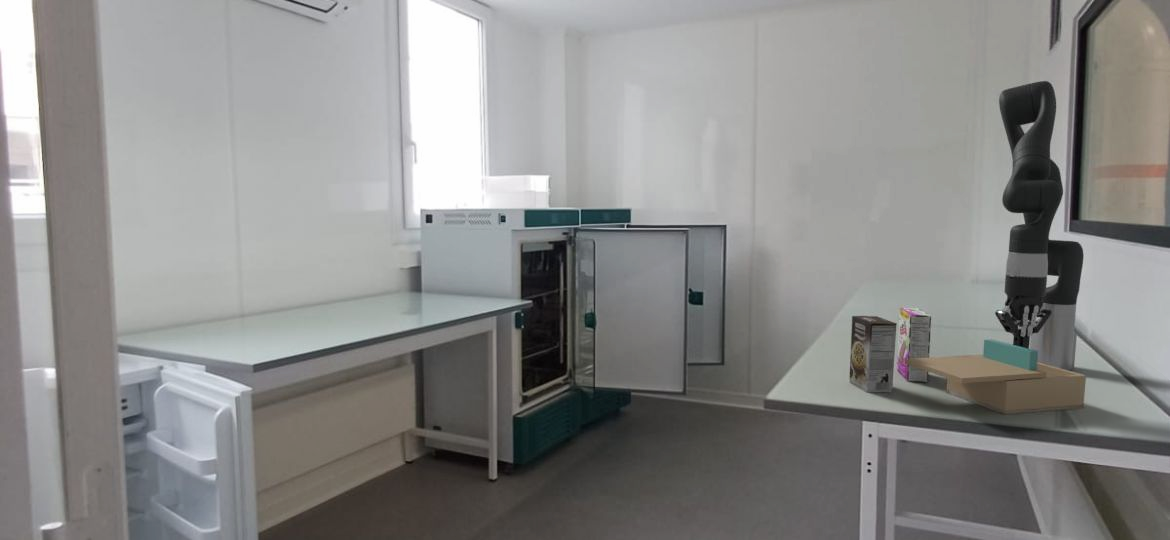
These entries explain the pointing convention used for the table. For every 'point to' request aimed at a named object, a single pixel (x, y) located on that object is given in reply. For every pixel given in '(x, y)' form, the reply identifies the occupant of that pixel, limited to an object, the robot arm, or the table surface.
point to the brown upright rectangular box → (872, 353)
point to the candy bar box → (913, 342)
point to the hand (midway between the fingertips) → (1020, 352)
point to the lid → (984, 364)
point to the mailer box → (1026, 392)
